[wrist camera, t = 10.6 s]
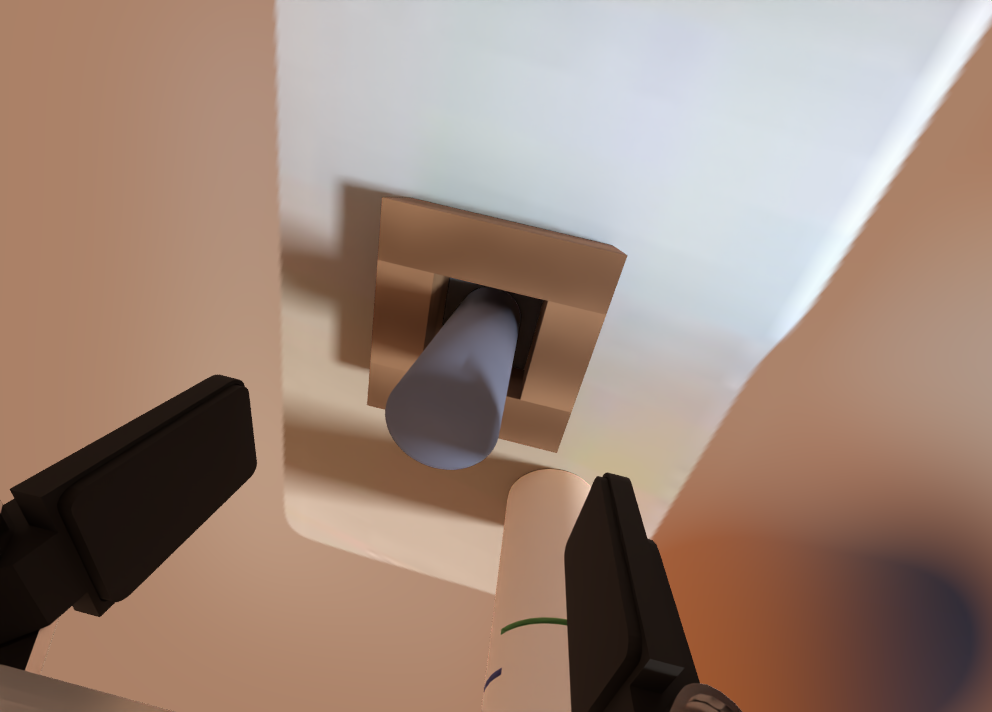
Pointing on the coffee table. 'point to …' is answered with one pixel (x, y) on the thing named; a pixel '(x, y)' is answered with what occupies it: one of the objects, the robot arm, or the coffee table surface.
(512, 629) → the cylindrical container
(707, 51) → the coffee table surface
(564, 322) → the socket block
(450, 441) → the peg
